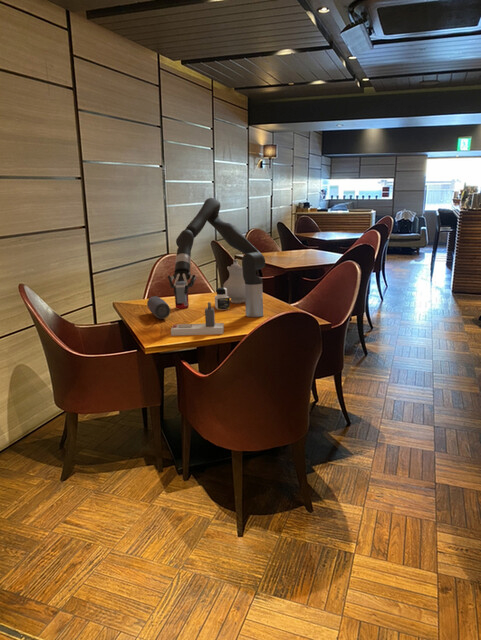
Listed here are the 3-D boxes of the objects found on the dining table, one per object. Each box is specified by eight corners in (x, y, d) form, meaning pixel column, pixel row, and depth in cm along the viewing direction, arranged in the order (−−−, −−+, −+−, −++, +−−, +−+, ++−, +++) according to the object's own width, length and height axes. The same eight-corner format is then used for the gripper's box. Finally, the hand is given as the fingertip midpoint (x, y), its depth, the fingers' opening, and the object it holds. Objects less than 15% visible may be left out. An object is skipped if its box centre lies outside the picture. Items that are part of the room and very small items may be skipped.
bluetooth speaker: (146, 313, 272) (145, 296, 270) (163, 311, 275) (161, 294, 273) (154, 322, 251) (152, 303, 249) (171, 320, 254) (170, 301, 252)
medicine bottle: (217, 310, 273) (216, 289, 270) (215, 308, 280) (214, 287, 277) (230, 309, 275) (229, 288, 272) (227, 306, 281) (226, 286, 278)
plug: (187, 301, 234) (185, 280, 232) (185, 303, 230) (183, 282, 228) (178, 301, 235) (176, 281, 232) (177, 303, 231) (175, 282, 228)
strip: (223, 329, 232) (222, 300, 228) (223, 333, 223) (221, 304, 220) (174, 330, 232) (172, 302, 229) (171, 335, 224) (169, 306, 220)
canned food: (189, 306, 287) (188, 287, 285) (188, 308, 280) (187, 290, 277) (176, 306, 287) (175, 288, 285) (175, 309, 279) (173, 290, 277)
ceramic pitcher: (218, 301, 304) (214, 262, 297) (246, 295, 311) (242, 257, 304) (232, 307, 284) (228, 265, 278) (262, 301, 292) (258, 260, 285)
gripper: (198, 269, 241) (196, 297, 232) (170, 270, 242) (167, 298, 233) (196, 259, 235) (194, 288, 226) (167, 260, 236) (164, 290, 227)
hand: (180, 293), depth 230 cm, fingers closed on plug, 4 cm apart
